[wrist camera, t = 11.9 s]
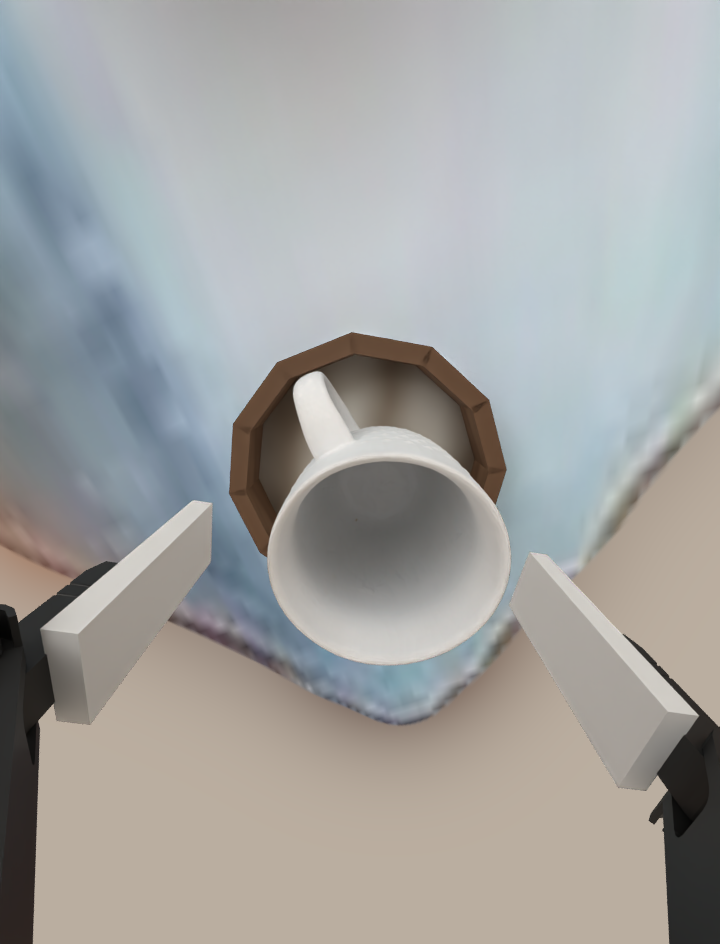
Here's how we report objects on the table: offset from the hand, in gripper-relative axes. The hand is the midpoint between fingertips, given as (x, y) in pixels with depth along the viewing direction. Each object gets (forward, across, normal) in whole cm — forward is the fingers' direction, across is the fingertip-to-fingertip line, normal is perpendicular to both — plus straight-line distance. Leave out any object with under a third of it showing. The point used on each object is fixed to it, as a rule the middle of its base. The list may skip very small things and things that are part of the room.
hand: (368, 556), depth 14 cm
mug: (+14, +1, 0) cm, 14 cm away
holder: (+14, 0, -1) cm, 14 cm away
